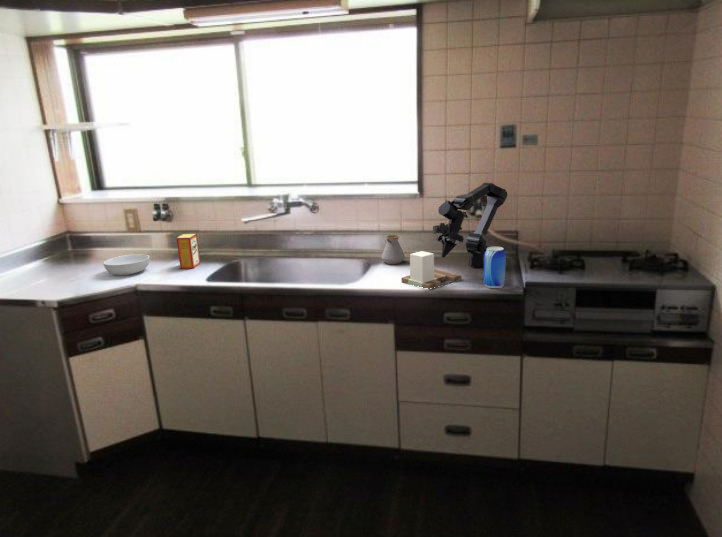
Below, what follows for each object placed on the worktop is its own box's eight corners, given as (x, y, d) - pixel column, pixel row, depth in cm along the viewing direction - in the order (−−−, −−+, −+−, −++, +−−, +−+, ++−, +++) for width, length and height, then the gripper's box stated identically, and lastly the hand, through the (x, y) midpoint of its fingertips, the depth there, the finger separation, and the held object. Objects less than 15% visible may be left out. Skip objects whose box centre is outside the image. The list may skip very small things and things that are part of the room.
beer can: (492, 282, 223) (493, 244, 218) (508, 286, 216) (510, 248, 212) (479, 286, 218) (480, 248, 213) (495, 290, 211) (497, 251, 207)
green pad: (422, 279, 230) (422, 275, 229) (436, 283, 224) (436, 278, 223) (408, 284, 224) (408, 279, 224) (422, 288, 218) (422, 283, 218)
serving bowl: (127, 266, 273) (125, 252, 271) (160, 268, 266) (158, 254, 264) (95, 277, 254) (92, 263, 252) (130, 280, 247) (128, 265, 245)
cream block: (421, 275, 228) (421, 251, 225) (434, 279, 223) (433, 253, 220) (410, 279, 224) (410, 254, 221) (422, 282, 219) (422, 256, 216)
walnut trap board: (433, 272, 240) (433, 268, 239) (461, 279, 228) (461, 275, 227) (401, 282, 227) (401, 277, 227) (429, 290, 215) (429, 285, 215)
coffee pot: (383, 259, 266) (382, 229, 262) (406, 259, 264) (406, 229, 260) (375, 270, 246) (375, 239, 242) (400, 271, 244) (400, 239, 240)
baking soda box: (187, 264, 271) (183, 233, 267) (200, 263, 271) (196, 233, 267) (180, 269, 262) (176, 237, 258) (193, 268, 262) (189, 237, 258)
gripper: (431, 219, 239) (419, 251, 237) (445, 214, 220) (433, 249, 219) (453, 228, 240) (442, 260, 239) (469, 224, 222) (457, 259, 221)
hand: (442, 257), depth 230 cm, fingers closed
